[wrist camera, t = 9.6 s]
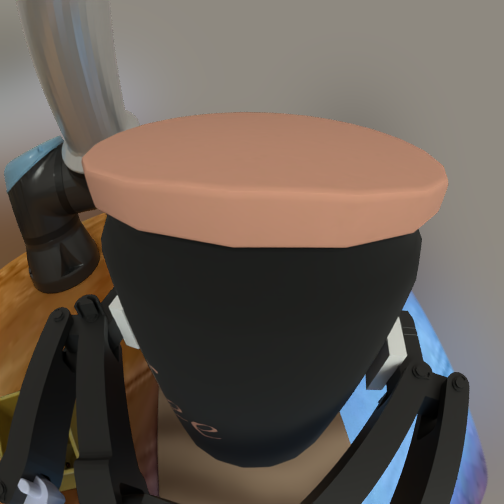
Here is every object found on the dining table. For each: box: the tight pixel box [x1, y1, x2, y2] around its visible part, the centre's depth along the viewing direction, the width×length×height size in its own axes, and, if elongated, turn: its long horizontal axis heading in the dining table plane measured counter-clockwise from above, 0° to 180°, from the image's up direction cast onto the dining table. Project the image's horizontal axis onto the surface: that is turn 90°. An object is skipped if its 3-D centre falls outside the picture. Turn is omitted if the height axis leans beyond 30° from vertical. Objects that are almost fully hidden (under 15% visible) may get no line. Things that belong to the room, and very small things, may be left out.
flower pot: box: [0, 391, 79, 491], centre depth 14 cm, size 9×9×9 cm
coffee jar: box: [81, 112, 448, 468], centre depth 13 cm, size 11×11×18 cm
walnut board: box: [158, 387, 351, 504], centre depth 22 cm, size 18×18×1 cm
